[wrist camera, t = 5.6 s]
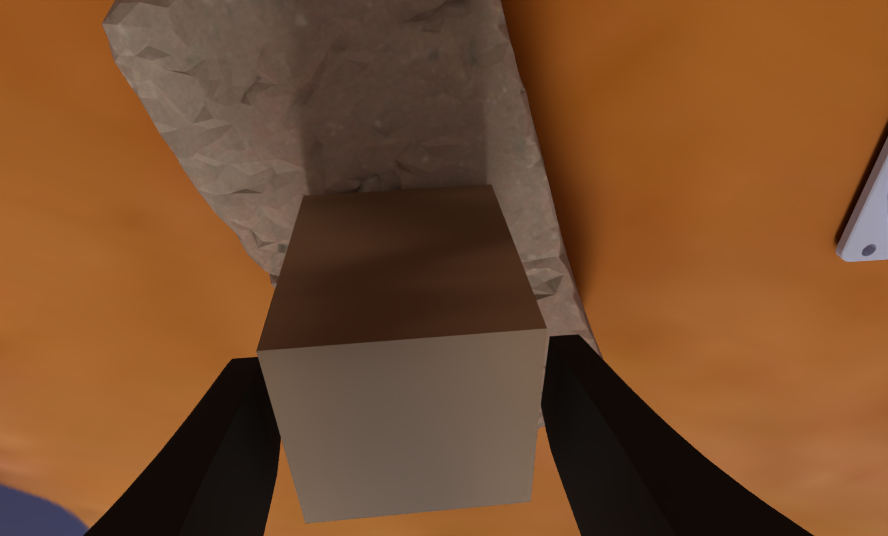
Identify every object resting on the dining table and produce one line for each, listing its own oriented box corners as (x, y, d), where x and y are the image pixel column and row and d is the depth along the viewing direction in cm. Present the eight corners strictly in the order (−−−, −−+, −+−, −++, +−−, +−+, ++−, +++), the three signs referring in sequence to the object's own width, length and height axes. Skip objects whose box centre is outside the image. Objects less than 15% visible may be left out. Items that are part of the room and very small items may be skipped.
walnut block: (491, 183, 13) (547, 328, 9) (488, 329, 16) (530, 501, 11) (303, 196, 13) (256, 351, 8) (330, 341, 15) (305, 523, 11)
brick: (138, -16, 14) (46, 16, 10) (438, -155, 13) (462, -177, 9) (391, 388, 23) (393, 486, 19) (580, 325, 22) (622, 415, 18)
